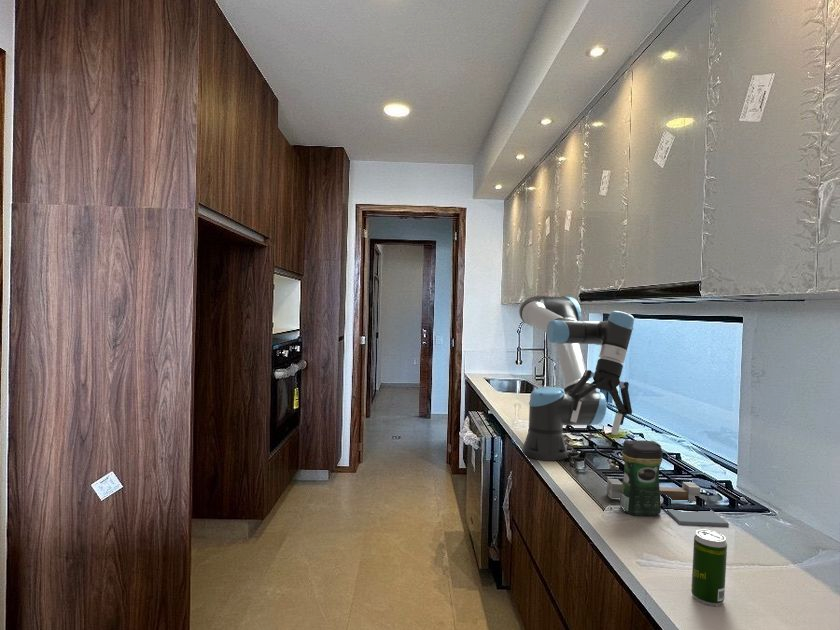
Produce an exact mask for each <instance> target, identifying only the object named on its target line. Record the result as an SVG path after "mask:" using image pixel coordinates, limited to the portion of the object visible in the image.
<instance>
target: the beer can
mask: <svg viewBox="0 0 840 630" xmlns="http://www.w3.org/2000/svg"><path fill="white" fill-rule="evenodd" d="M727 550H728V542H727V538H726V536H725V535H723V534H722V533H720V532H717V531H714V530H709V529H697V530H696V531H695V535H694V536H693V551H692V552H693V553H692V554H693V555H692V556H693V557H692V573H691V590H690V591H691V594H692V597H693V598H694V599H695V601H697V602H698V601H699V603H700V602H701V604H702V603H703V605H705V604H706V605H705V606H709V605H711V606H710V607H717V606H716V605H720V606H721V605H722V604H723V602H724V600H725V590H726V575H727V574H726V573H727V571H726V570H727V552H728V551H727Z"/></svg>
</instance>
